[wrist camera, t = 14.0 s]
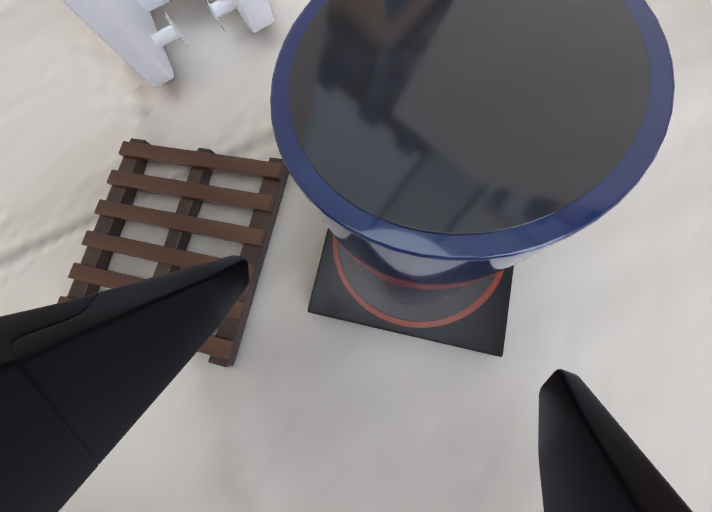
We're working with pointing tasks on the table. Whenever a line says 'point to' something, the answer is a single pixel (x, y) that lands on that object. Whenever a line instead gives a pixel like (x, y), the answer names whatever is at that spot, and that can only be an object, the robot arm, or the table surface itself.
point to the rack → (182, 226)
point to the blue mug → (467, 128)
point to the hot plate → (413, 305)
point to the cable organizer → (154, 29)
